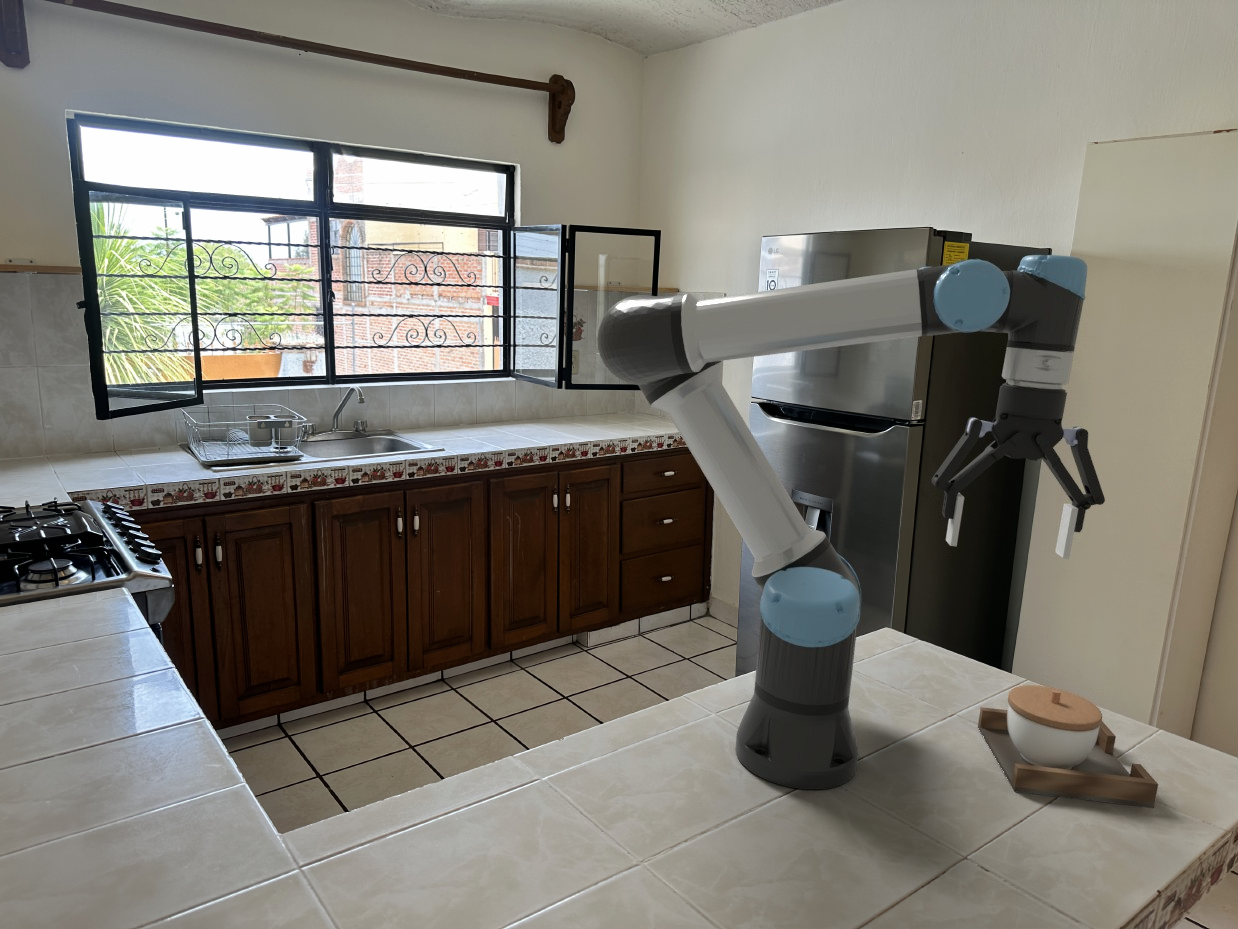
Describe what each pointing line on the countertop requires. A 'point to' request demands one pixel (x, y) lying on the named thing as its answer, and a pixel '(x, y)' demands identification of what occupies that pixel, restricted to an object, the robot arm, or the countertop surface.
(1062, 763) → the lidded jar
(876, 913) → the countertop surface
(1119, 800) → the holder
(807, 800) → the countertop surface
